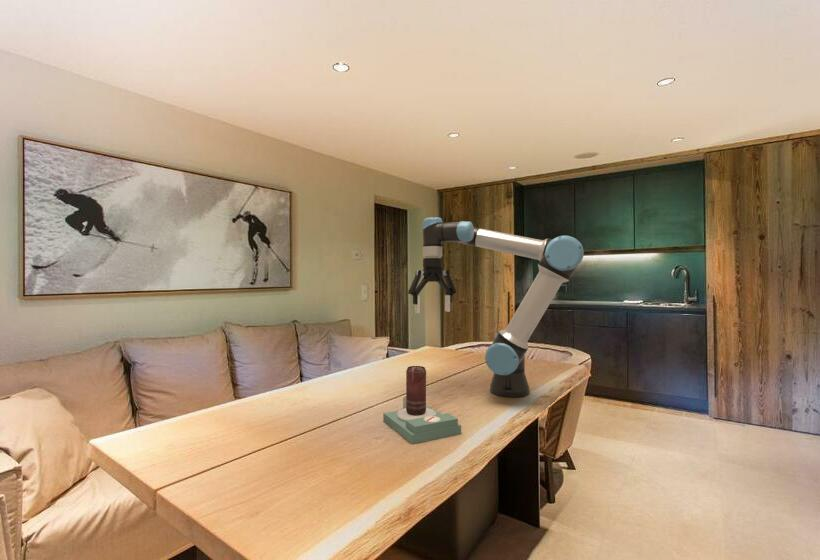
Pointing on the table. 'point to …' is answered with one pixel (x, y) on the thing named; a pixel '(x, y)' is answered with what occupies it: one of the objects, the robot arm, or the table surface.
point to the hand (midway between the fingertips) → (432, 312)
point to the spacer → (404, 402)
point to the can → (416, 390)
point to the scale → (422, 425)
